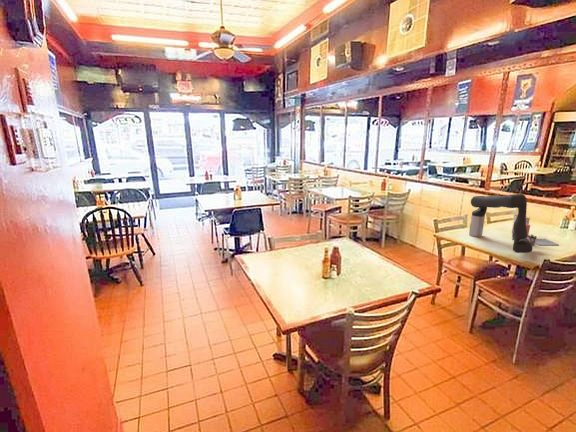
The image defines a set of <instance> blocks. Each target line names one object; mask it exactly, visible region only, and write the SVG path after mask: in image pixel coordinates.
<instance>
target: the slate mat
mask: <svg viewBox="0 0 576 432" xmlns="http://www.w3.org/2000/svg"><path fill="white" fill-rule="evenodd" d="M534 245H538V246H559V244H558V243H555V242H554V241H552V240H550V239H547V238H536V242H535V244H534Z"/></svg>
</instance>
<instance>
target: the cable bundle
mask: <svg viewBox="0 0 576 432" xmlns="http://www.w3.org/2000/svg"><path fill="white" fill-rule="evenodd" d="M526 229H527V235H530V230H531V224H529V225H528V224H526Z"/></svg>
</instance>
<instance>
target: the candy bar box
mask: <svg viewBox="0 0 576 432" xmlns="http://www.w3.org/2000/svg"><path fill="white" fill-rule="evenodd" d="M517 216H518V213H516V214H514V216H513V217H514V218H513V222H512V223H513V224H512V227H513V226H514V222H515V220H516V218H517ZM530 219H531V218H530V217H529V216H526V224H528V225H530ZM511 233H512V234H513V233H514V229H513V228H512V230H511Z"/></svg>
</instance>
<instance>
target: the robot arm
mask: <svg viewBox="0 0 576 432" xmlns="http://www.w3.org/2000/svg"><path fill="white" fill-rule="evenodd" d="M470 205H471V206H472V207H473V208H477V209H475V210H472V212H471V218H470V225H469V231H468V232H469V233H468V234H469V236H471V237H475V238H476V237H477V238H481V237H483V234H484V233H483V231H484V224H485V219H486V213H487V211H488V210H487V209H488V208H494V209H495V208H496V209H497V208H499V209H500V208H507V209H518V213H517V214H518V216H517V218H516V220H515V222H514V221H513V222H514V226H513V225H512V229H514V233H512V234H511V238H512V239H513V238H514V241H513V244H512V251H513V252H514V253H516V254H522V253H524V254H525V253H526V254H527V253H531V252H532V251H533V249H534V248H533V244H531V243H530V240H533V241H534V242H536V239H538V238H537V237H538V236H536V235H535V236H534V234H533V233H532V234H529V235H527V229H526V217H527V207H528V206H527V197H526V195H525V194H523V193H515V194H508V195H503V196H502V195H500V194H499V195H498V194H496V195H495V194H493V195H476V196H473V197H471V199H470Z"/></svg>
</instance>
